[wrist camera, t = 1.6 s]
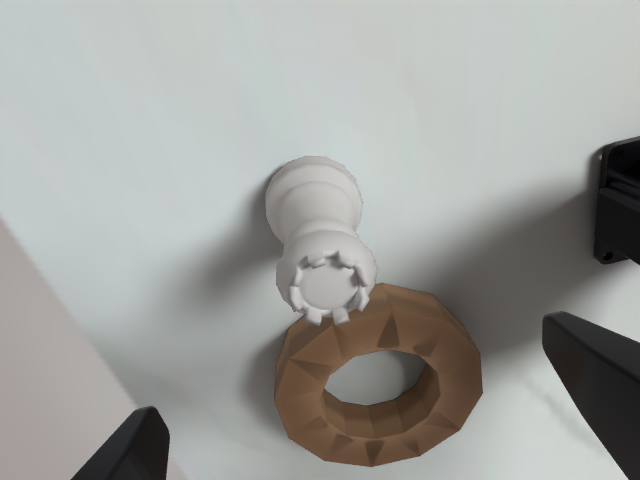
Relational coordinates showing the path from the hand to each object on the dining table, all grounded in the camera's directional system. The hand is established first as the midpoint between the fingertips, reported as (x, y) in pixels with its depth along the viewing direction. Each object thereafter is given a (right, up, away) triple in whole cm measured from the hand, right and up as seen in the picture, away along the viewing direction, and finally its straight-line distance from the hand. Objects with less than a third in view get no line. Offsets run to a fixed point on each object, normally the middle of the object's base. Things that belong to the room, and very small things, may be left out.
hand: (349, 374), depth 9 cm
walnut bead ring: (+2, -4, +15) cm, 16 cm away
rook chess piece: (-1, +5, +10) cm, 12 cm away
